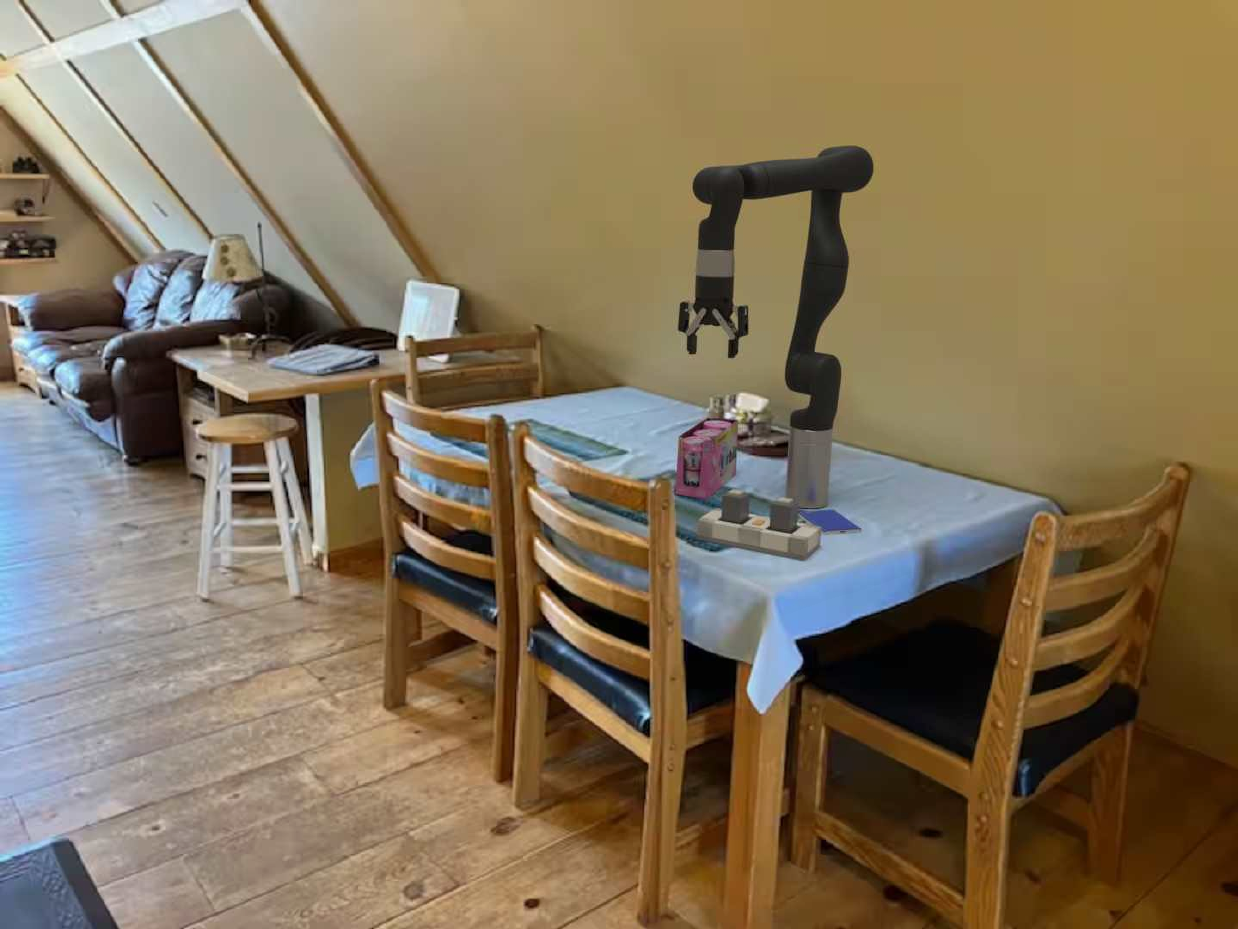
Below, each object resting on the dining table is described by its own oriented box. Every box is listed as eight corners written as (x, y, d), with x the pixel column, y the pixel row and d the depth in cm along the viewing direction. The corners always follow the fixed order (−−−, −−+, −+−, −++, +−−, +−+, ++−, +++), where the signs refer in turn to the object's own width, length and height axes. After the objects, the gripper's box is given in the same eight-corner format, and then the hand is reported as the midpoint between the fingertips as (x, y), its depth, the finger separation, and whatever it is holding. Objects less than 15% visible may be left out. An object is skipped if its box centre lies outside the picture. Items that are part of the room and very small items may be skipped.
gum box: (706, 501, 219) (708, 441, 215) (672, 496, 222) (674, 437, 218) (736, 474, 240) (739, 419, 236) (705, 470, 243) (707, 416, 239)
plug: (729, 528, 197) (731, 487, 195) (747, 532, 195) (749, 490, 193) (720, 534, 194) (722, 492, 192) (739, 538, 192) (741, 495, 190)
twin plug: (776, 537, 193) (778, 495, 190) (796, 541, 191) (798, 498, 188) (768, 543, 189) (771, 500, 187) (788, 547, 187) (791, 504, 185)
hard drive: (799, 511, 209) (824, 530, 197) (834, 509, 211) (861, 527, 199) (798, 518, 209) (823, 537, 198) (834, 516, 211) (861, 535, 200)
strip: (696, 539, 194) (697, 518, 193) (715, 526, 202) (716, 506, 201) (803, 560, 184) (805, 538, 182) (820, 546, 191) (821, 525, 190)
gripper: (756, 274, 193) (752, 356, 197) (690, 270, 200) (688, 350, 204) (741, 276, 187) (737, 361, 191) (673, 272, 194) (671, 355, 198)
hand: (711, 355), depth 198 cm, fingers open, 8 cm apart
